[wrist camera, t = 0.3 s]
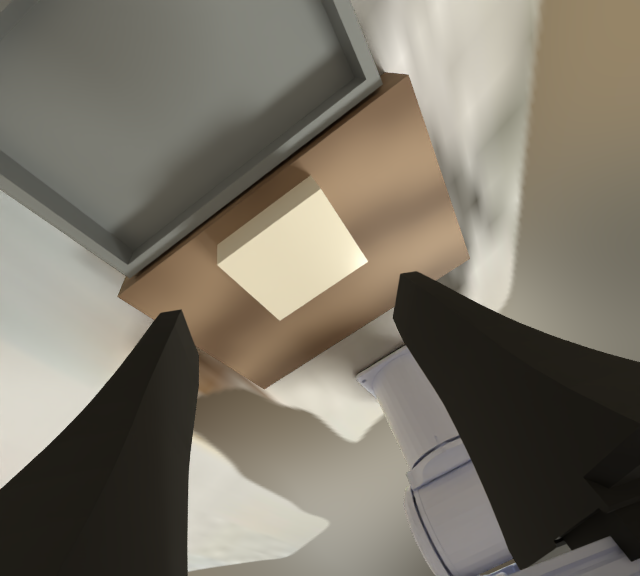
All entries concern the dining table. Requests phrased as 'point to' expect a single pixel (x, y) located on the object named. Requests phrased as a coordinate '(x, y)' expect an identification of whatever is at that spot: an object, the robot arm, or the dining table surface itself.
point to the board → (356, 214)
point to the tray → (164, 108)
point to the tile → (291, 250)
